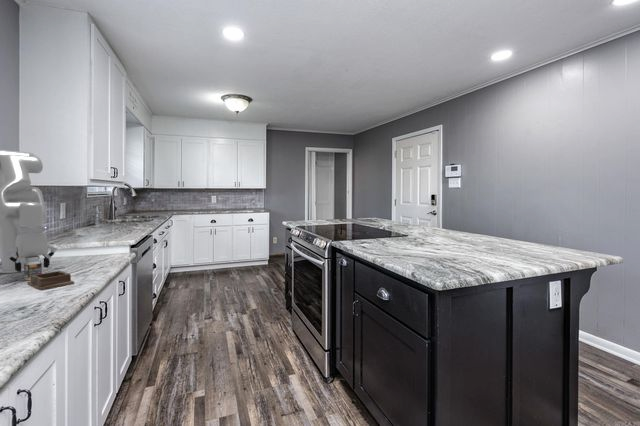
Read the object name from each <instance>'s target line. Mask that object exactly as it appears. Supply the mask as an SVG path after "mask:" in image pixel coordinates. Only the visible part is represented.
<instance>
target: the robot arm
mask: <svg viewBox="0 0 640 426" xmlns="http://www.w3.org/2000/svg"><path fill="white" fill-rule="evenodd" d="M43 165H44V164H43V162H42V160H41V159H40V157H39V156H37V155H36V154H34V153H33V152H26V151H17V150H7V149H0V244H1V245H0V246H1V263H2V265H1V266H2V267H1V268H0V274H16V273H24V263H25V262H26V260H25V257H32V256H40V257H41V256H43V257H44V258H43V267H44V268H45V269H47V268H49V266H50V263H51V262H50V261H51V260H50V259H51V257H53V256H54V255H55V253H56V251H57V248H56V247H55V246H51V245H48V240H47V235H46V233H45V232H44V231H47V230H48V228H47V227H46V226H44V223H46V222H47V219H48V212H47V208H46V205H45V204H46V203H45V200H44V195H43V192H42V190H41V189H40V188H39V187H38V186H37V187H36V186H31V184H32V182H31V177H30V174H40V173H41V172H42V171H43V168H44V166H43ZM49 250H50V252H49Z"/></svg>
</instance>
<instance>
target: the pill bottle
mask: <svg viewBox="0 0 640 426" xmlns="http://www.w3.org/2000/svg"><path fill="white" fill-rule="evenodd" d="M40 258H41V255H40V256H32V257H25V260H26V262H25V263H24V272H23V278H24V280H25V281H31V276H32V275H38V274H43V271H42V267H43V266H42V261H41V260H40Z"/></svg>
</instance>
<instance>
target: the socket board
mask: <svg viewBox="0 0 640 426" xmlns="http://www.w3.org/2000/svg"><path fill="white" fill-rule="evenodd" d="M71 278H72V277H71V273H67V272H66V271H62V270H57V271H56V270H55V271H50V272H44V273H42V274H38V275H32V276H31V280H30V281H28V282H27V285H28V286H30V287H32V288H34V289H37V290H39V291H47V290H51V289H56V288H60V287H66V286H71V285H75V281H74V280H71Z"/></svg>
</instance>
